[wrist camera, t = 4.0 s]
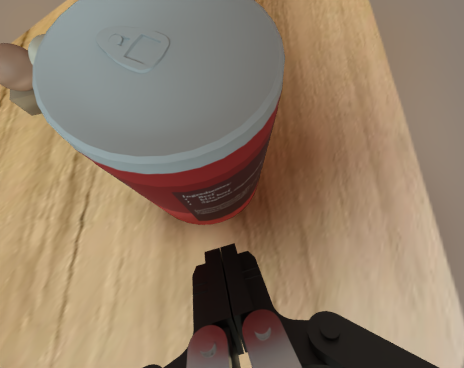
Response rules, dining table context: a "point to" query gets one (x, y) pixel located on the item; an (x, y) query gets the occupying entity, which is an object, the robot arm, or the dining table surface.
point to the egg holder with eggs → (20, 73)
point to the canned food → (166, 96)
